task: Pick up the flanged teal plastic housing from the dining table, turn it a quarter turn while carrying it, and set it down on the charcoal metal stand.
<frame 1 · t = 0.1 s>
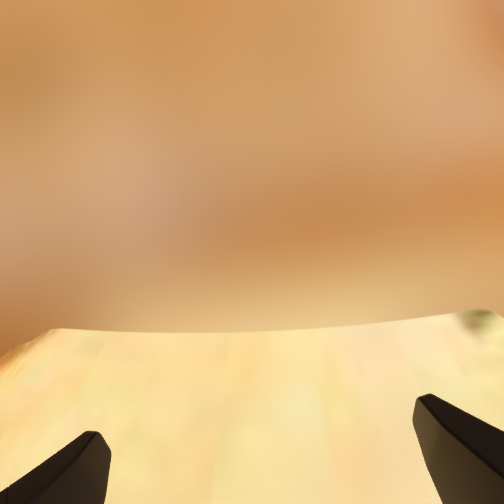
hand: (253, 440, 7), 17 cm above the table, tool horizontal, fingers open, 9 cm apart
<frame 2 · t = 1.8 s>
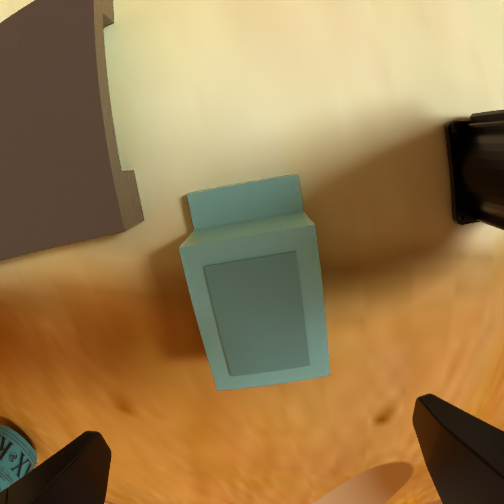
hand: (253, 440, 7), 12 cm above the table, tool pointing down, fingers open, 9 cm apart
beverage bottle: (22, 434, 25), on the table
stand: (22, 131, 17), on the table
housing: (260, 284, 19), on the table
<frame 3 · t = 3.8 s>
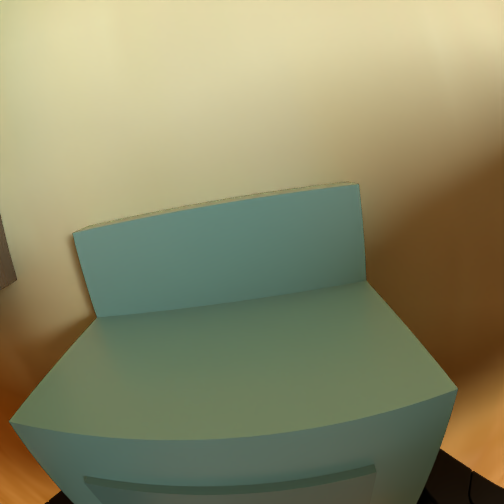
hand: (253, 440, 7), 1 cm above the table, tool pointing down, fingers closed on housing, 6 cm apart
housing: (253, 415, 8), on the table, touching gripper
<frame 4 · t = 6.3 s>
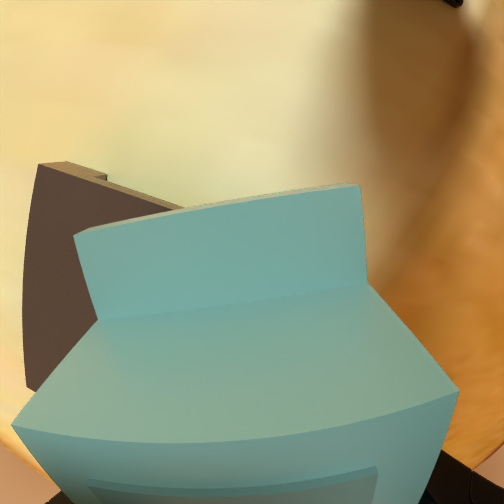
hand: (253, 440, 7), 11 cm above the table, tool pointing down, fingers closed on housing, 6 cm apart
stand: (152, 324, 19), on the table
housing: (254, 416, 8), point 10 cm above the table, touching gripper
when the fingers open (5 cm above the table, at t = 8.8 s): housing drops 1 cm, resting on stand.
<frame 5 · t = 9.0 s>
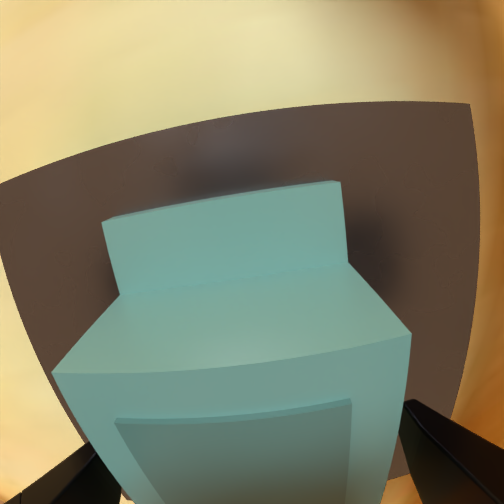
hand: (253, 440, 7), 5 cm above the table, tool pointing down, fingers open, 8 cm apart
stand: (252, 339, 13), on the table
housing: (253, 385, 10), point 3 cm above the table, touching stand
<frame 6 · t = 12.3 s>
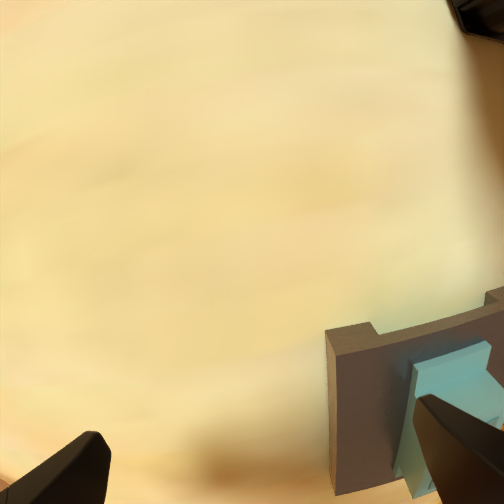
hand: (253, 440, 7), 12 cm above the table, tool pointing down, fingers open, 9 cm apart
stand: (423, 393, 22), on the table
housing: (438, 416, 19), point 3 cm above the table, touching stand
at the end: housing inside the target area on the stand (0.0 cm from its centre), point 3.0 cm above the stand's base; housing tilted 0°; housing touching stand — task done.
